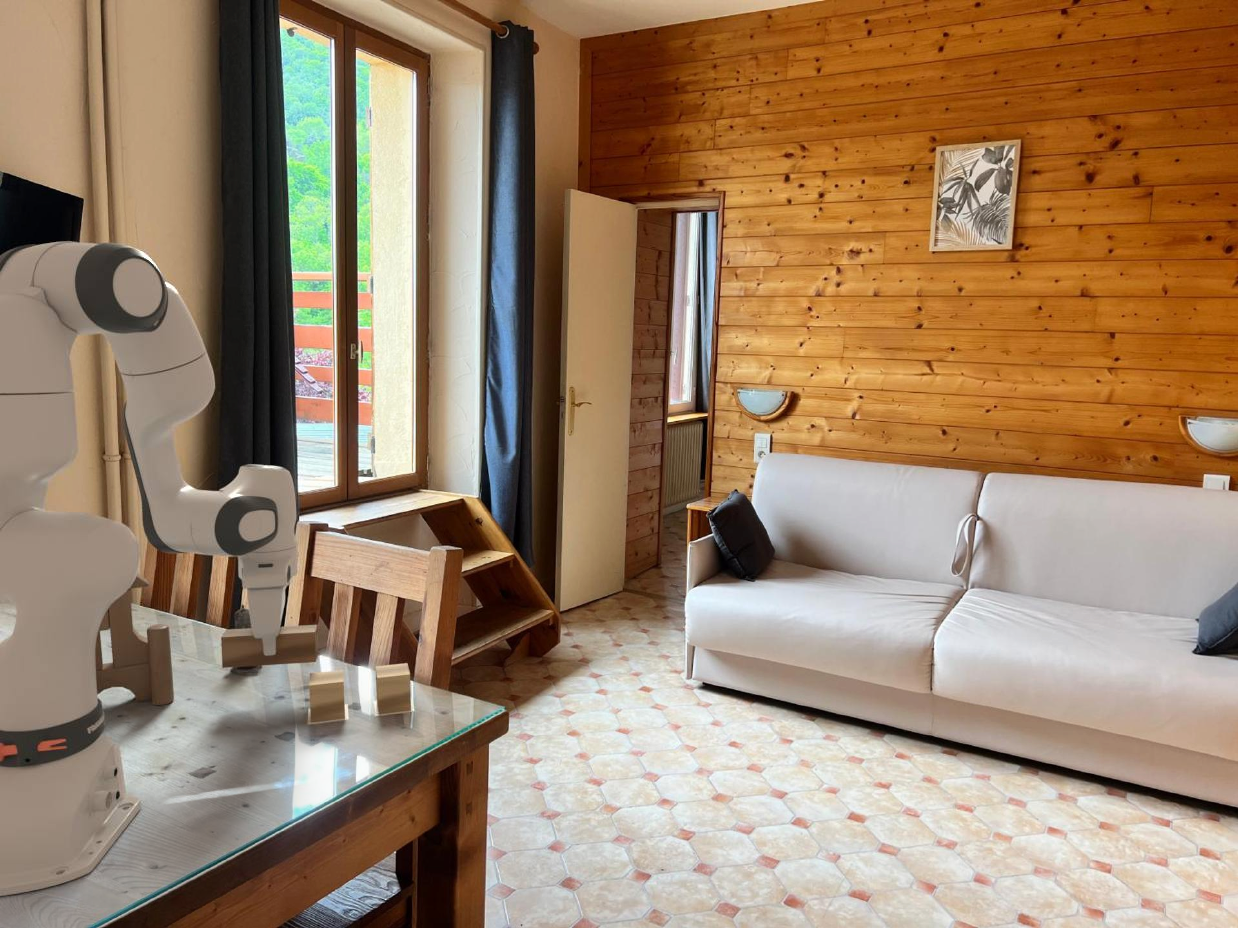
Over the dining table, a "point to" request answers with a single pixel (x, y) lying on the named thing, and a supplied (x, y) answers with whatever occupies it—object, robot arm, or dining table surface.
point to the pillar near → (326, 696)
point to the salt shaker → (243, 623)
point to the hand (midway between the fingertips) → (271, 648)
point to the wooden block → (290, 647)
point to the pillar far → (393, 688)
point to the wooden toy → (135, 654)
